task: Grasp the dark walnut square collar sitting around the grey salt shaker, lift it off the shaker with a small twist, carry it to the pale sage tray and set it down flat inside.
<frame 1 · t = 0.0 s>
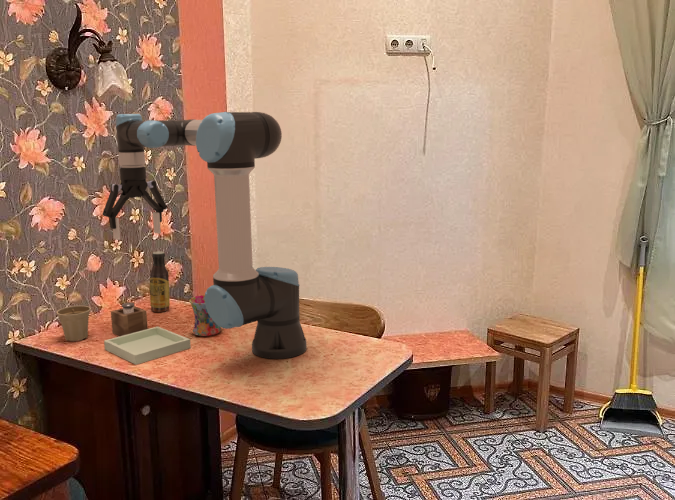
hand: (137, 236, 203), 28 cm above the table, fingers open, 13 cm apart
grey salt shaker: (130, 333, 200), on the table
sauce bottle: (161, 310, 223), on the table
flower pot: (76, 338, 196), on the table
tray: (147, 348, 186), on the table
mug: (210, 332, 200), on the table
collar: (130, 333, 200), on the table
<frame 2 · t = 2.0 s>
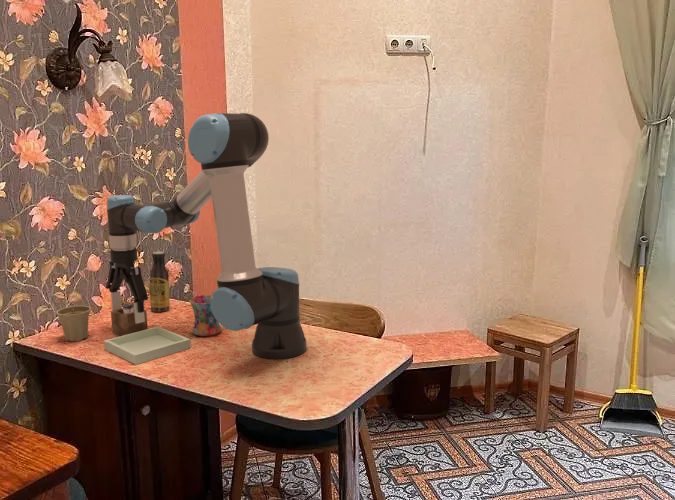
hand: (128, 317, 199), 5 cm above the table, fingers open, 13 cm apart
nothing on the table moved.
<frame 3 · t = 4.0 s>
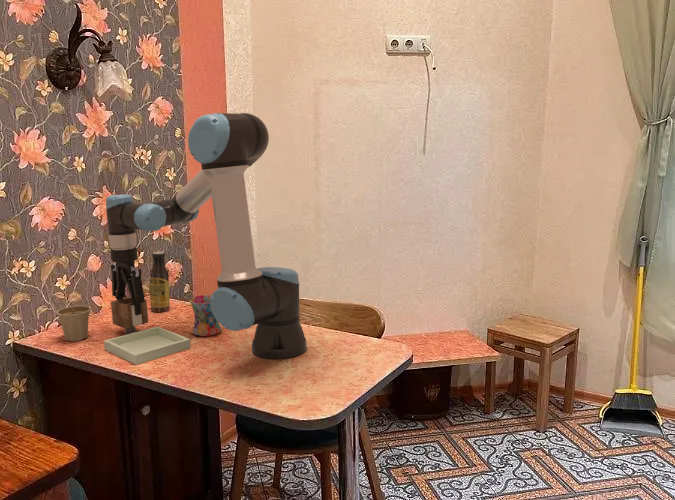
hand: (130, 322, 199), 3 cm above the table, fingers closed on collar, 7 cm apart
collar: (130, 323, 199), point 3 cm above the table, touching gripper
everything else where it was.
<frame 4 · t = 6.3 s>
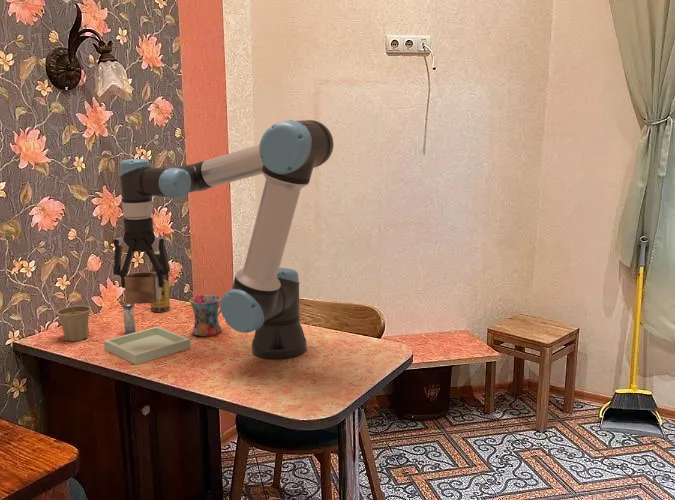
hand: (143, 298, 183), 15 cm above the table, fingers closed on collar, 7 cm apart
collar: (144, 299, 183), point 14 cm above the table, touching gripper
everything else where it was.
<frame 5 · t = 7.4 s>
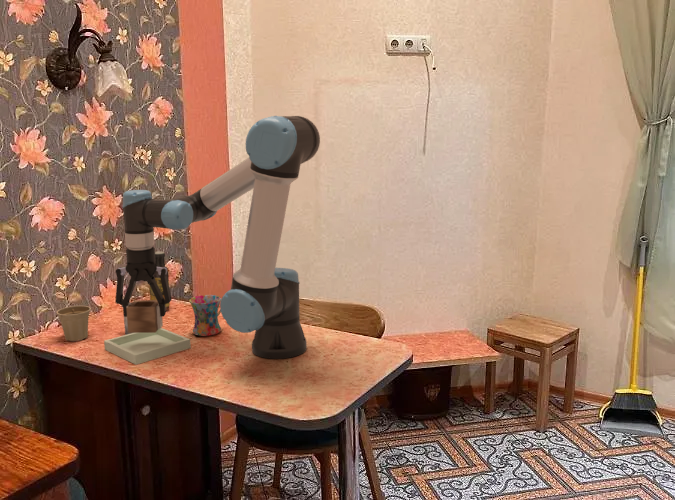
hand: (145, 327, 185), 6 cm above the table, fingers closed on collar, 7 cm apart
collar: (145, 328, 185), point 6 cm above the table, touching gripper
everything else where it was.
when the fingers open (2 cm above the table, at t = 8.5 s): collar drops 1 cm, resting on tray.
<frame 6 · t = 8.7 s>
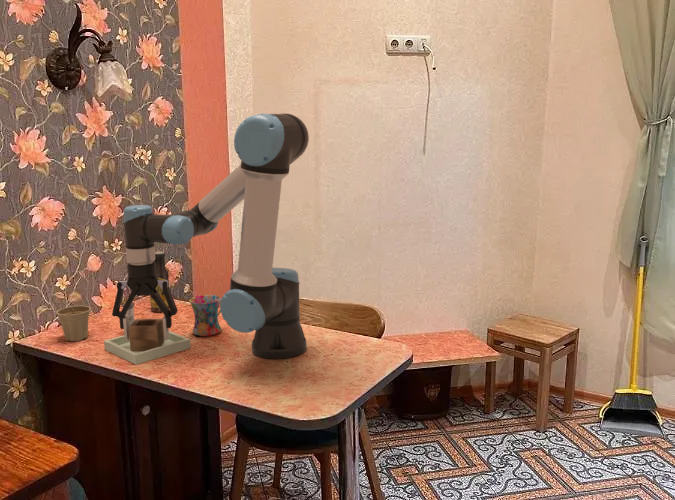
hand: (147, 339, 186), 3 cm above the table, fingers open, 10 cm apart
collar: (147, 346, 186), point 1 cm above the table, touching tray
everything else where it was.
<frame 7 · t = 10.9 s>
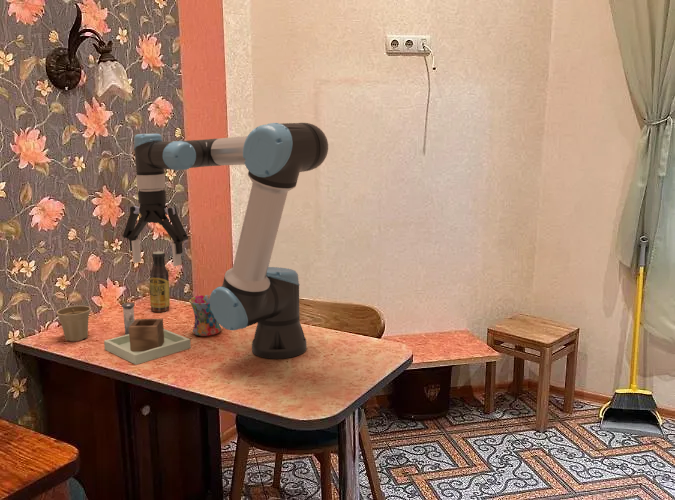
hand: (157, 263, 190), 23 cm above the table, fingers open, 13 cm apart
nothing on the table moved.
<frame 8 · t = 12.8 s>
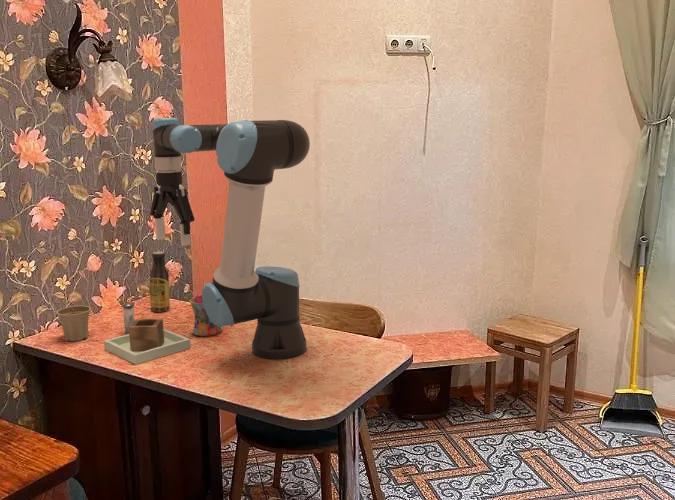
hand: (173, 242, 199), 27 cm above the table, fingers open, 13 cm apart
nothing on the table moved.
at the end: collar inside the target area on the tray (0.0 cm from its centre), point 0.6 cm above the tray's base; collar tilted 0°; the gripper is holding nothing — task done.
